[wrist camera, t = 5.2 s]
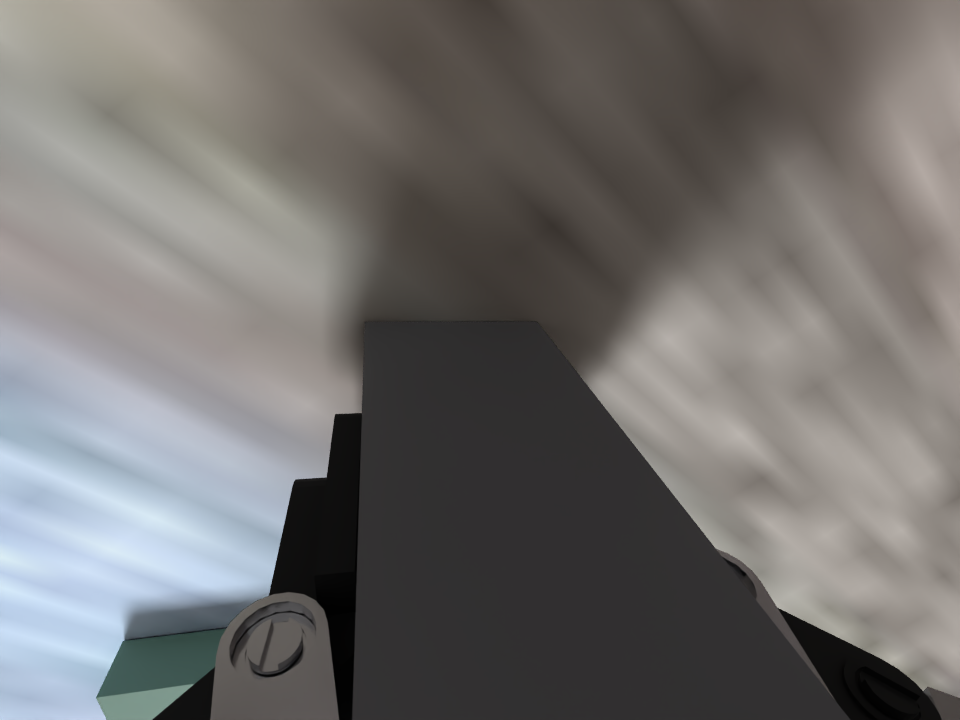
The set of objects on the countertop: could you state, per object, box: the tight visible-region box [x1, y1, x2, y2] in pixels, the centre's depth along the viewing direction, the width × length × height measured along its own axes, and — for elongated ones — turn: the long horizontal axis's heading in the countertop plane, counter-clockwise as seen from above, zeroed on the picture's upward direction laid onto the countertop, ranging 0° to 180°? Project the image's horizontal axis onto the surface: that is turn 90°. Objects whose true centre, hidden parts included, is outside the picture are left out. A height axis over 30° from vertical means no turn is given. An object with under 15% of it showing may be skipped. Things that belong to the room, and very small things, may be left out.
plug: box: [352, 322, 850, 720], centre depth 9 cm, size 6×4×9 cm, turn 175°
